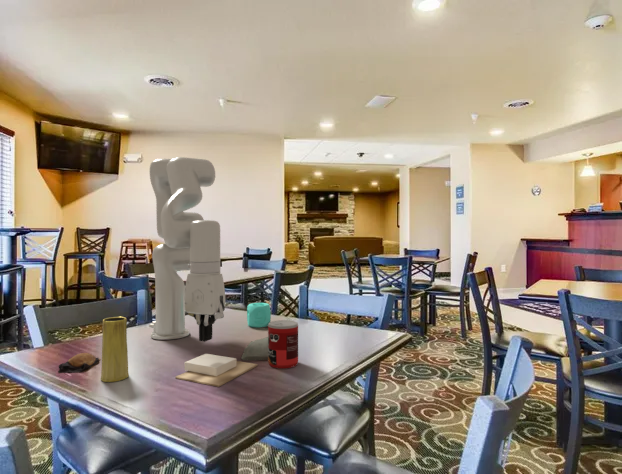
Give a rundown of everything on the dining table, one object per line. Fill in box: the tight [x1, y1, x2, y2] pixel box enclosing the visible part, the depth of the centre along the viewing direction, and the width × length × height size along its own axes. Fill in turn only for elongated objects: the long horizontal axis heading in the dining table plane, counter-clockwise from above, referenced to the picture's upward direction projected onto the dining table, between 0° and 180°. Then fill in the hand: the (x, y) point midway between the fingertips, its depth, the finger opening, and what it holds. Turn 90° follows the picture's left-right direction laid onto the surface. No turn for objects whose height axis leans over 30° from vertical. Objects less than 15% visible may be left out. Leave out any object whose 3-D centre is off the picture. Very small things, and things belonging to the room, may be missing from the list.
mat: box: [175, 360, 258, 387], centre depth 100 cm, size 13×16×1 cm
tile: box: [184, 353, 237, 376], centre depth 101 cm, size 2×8×10 cm
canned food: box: [267, 319, 299, 369], centre depth 105 cm, size 8×8×11 cm
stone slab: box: [241, 336, 268, 362], centre depth 120 cm, size 22×3×10 cm
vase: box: [100, 316, 130, 383], centre depth 96 cm, size 6×6×14 cm
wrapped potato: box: [57, 352, 102, 374], centre depth 104 cm, size 11×8×4 cm
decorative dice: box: [246, 302, 272, 329], centre depth 151 cm, size 8×8×8 cm
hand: (205, 339), depth 101 cm, fingers closed
